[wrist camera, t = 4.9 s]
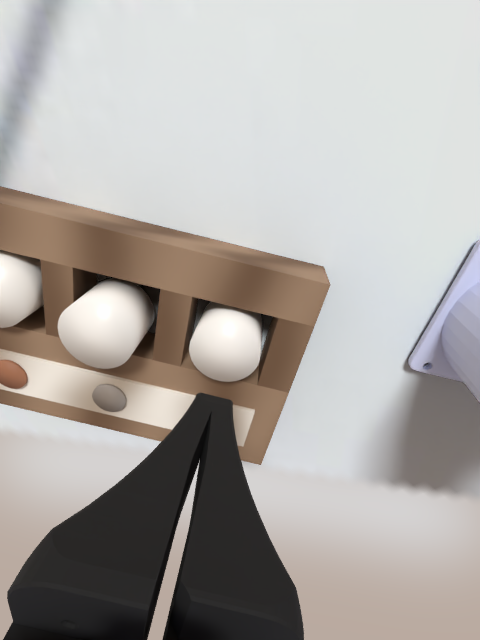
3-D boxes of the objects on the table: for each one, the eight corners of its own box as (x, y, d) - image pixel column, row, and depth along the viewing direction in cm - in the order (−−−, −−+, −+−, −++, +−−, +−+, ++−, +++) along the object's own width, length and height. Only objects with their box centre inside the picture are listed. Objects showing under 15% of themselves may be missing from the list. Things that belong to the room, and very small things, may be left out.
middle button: (157, 287, 17) (135, 313, 15) (151, 343, 19) (131, 376, 16) (89, 270, 17) (55, 294, 15) (89, 328, 19) (59, 358, 16)
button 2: (269, 304, 18) (268, 331, 16) (254, 356, 20) (250, 388, 18) (206, 289, 18) (195, 313, 16) (196, 342, 20) (184, 372, 17)
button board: (323, 266, 18) (331, 288, 15) (262, 435, 24) (260, 470, 21) (-51, 173, 17) (-108, 179, 15) (-13, 369, 23) (-49, 397, 21)
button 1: (57, 252, 18) (20, 271, 16) (60, 309, 20) (27, 334, 17) (-7, 236, 18) (-55, 252, 16) (1, 294, 20) (-41, 318, 17)
